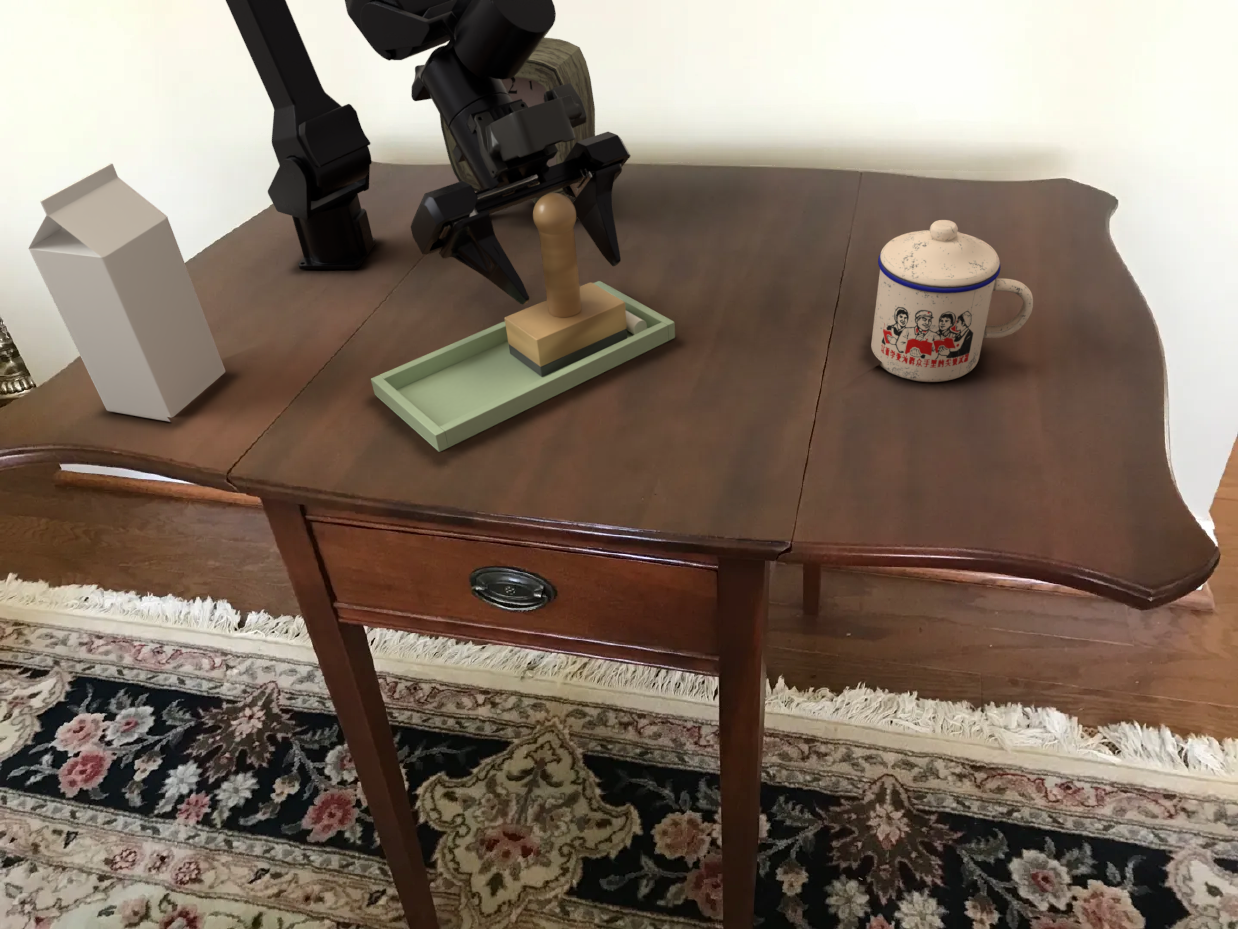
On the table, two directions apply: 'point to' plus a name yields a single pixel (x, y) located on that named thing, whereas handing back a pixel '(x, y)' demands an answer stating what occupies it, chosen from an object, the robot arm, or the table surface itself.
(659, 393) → the table surface
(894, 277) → the teacup with lid
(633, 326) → the chalk
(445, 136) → the tabletop clock
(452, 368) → the tray
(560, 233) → the wooden rubber stamp
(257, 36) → the robot arm
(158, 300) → the milk carton
